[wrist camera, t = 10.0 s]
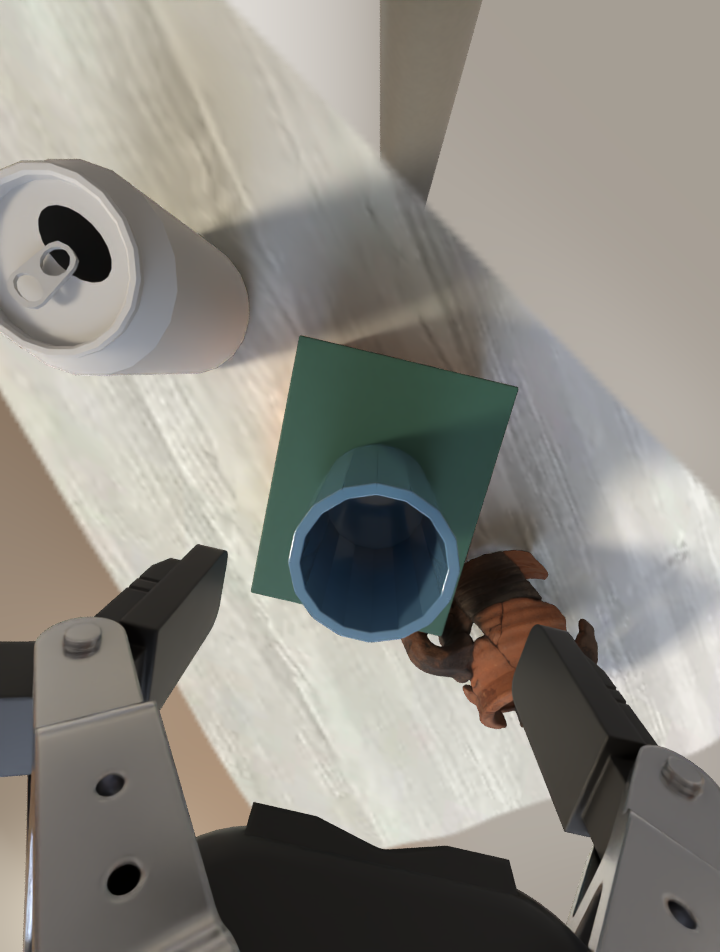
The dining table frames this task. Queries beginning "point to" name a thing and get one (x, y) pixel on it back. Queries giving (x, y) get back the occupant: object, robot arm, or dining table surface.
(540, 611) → the brown jagged ring
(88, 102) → the dining table surface
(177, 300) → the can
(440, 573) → the cup
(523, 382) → the dining table surface
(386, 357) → the container
